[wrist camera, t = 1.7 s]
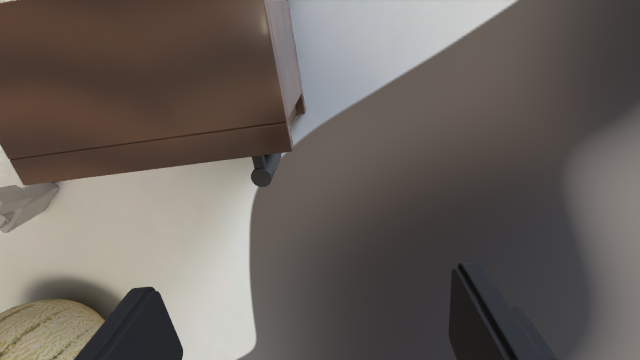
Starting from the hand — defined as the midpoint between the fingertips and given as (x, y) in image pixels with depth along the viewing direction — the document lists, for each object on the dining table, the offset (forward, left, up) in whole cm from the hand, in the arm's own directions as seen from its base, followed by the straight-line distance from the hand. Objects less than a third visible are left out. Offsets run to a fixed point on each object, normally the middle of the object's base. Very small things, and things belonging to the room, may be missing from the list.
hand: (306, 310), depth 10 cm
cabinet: (-5, -12, -22) cm, 25 cm away
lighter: (+10, -28, -22) cm, 37 cm away
